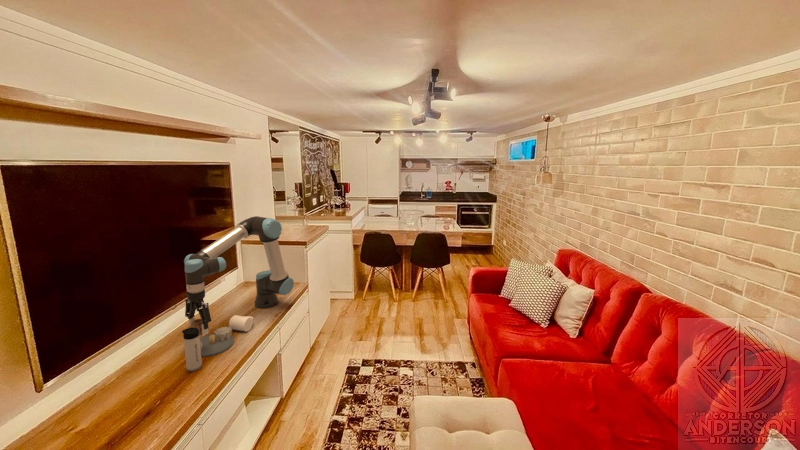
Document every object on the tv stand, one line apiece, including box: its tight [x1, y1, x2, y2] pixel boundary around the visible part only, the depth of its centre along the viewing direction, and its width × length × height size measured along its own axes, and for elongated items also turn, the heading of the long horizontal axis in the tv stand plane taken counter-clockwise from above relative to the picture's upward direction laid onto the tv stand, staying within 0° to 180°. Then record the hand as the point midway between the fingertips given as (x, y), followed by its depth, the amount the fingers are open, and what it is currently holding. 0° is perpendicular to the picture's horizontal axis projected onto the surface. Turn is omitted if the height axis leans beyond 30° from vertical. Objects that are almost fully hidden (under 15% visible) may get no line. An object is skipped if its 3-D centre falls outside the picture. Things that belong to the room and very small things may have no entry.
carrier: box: [200, 326, 235, 358], centre depth 172 cm, size 21×20×6 cm
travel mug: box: [181, 328, 203, 372], centre depth 152 cm, size 6×7×20 cm
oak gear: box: [188, 318, 210, 337], centre depth 163 cm, size 8×8×6 cm
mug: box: [228, 314, 254, 333], centre depth 190 cm, size 12×10×8 cm
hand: (199, 332), depth 163 cm, fingers closed on oak gear, 8 cm apart
